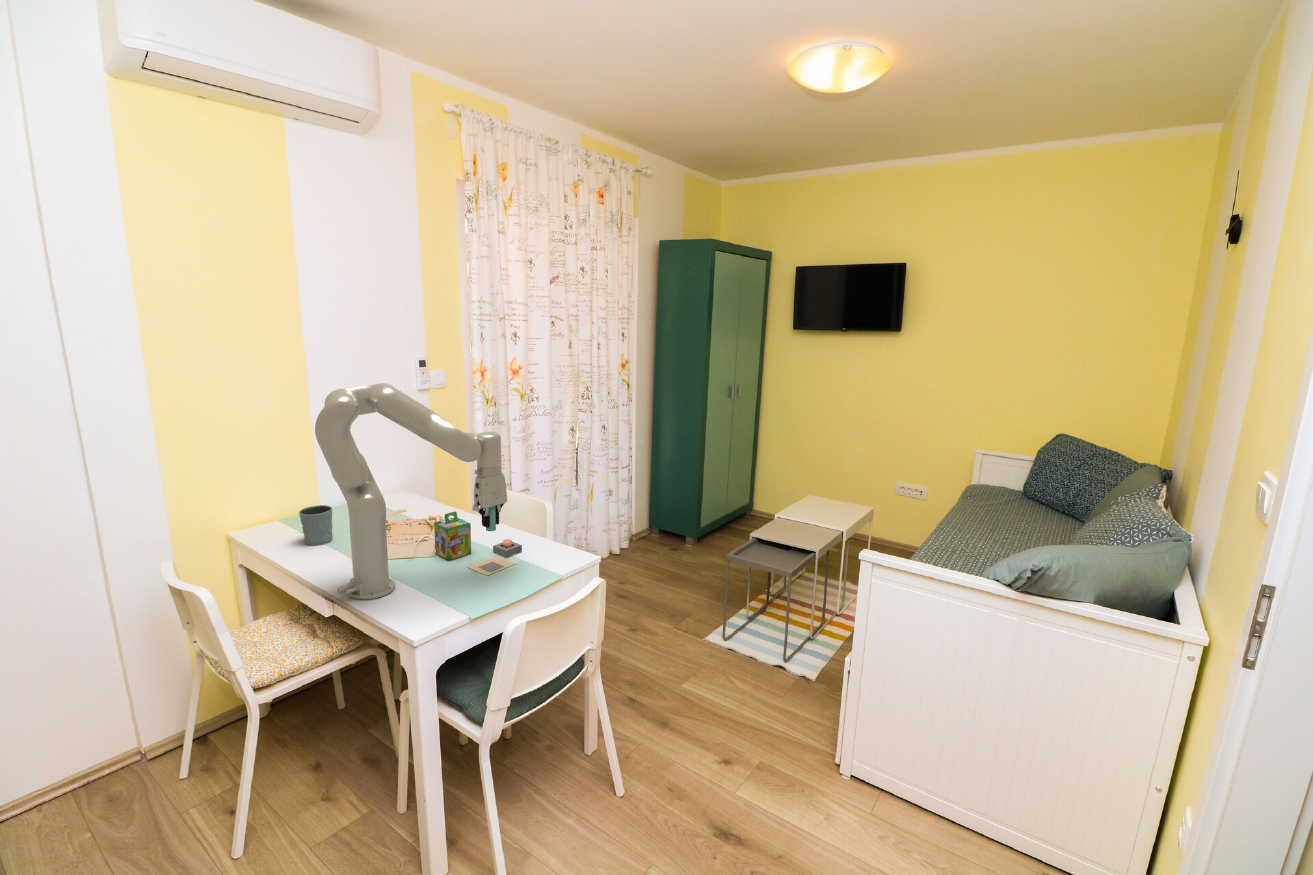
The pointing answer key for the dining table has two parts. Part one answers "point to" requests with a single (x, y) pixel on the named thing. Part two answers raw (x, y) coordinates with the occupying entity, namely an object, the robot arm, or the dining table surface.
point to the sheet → (491, 565)
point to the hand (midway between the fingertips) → (490, 524)
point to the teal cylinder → (492, 518)
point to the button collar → (507, 549)
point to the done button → (507, 543)
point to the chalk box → (452, 537)
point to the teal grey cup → (317, 524)
